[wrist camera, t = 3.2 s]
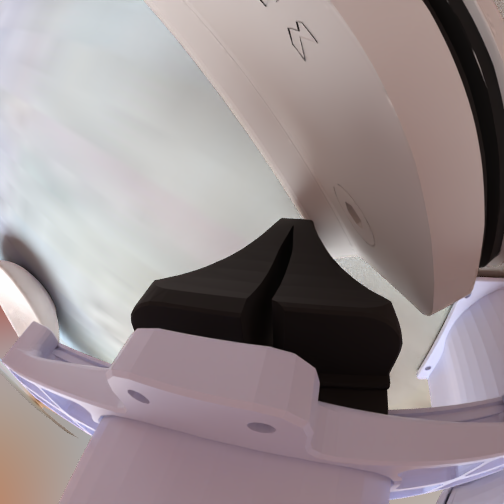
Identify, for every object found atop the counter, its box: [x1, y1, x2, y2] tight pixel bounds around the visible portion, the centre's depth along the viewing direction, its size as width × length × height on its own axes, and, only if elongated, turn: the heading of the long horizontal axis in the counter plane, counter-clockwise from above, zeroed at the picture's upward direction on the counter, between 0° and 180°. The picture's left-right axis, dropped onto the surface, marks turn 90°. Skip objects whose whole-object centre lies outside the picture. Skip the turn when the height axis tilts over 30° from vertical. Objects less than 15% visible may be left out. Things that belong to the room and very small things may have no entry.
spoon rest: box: [0, 260, 59, 341], centre depth 24 cm, size 24×12×7 cm, turn 24°
